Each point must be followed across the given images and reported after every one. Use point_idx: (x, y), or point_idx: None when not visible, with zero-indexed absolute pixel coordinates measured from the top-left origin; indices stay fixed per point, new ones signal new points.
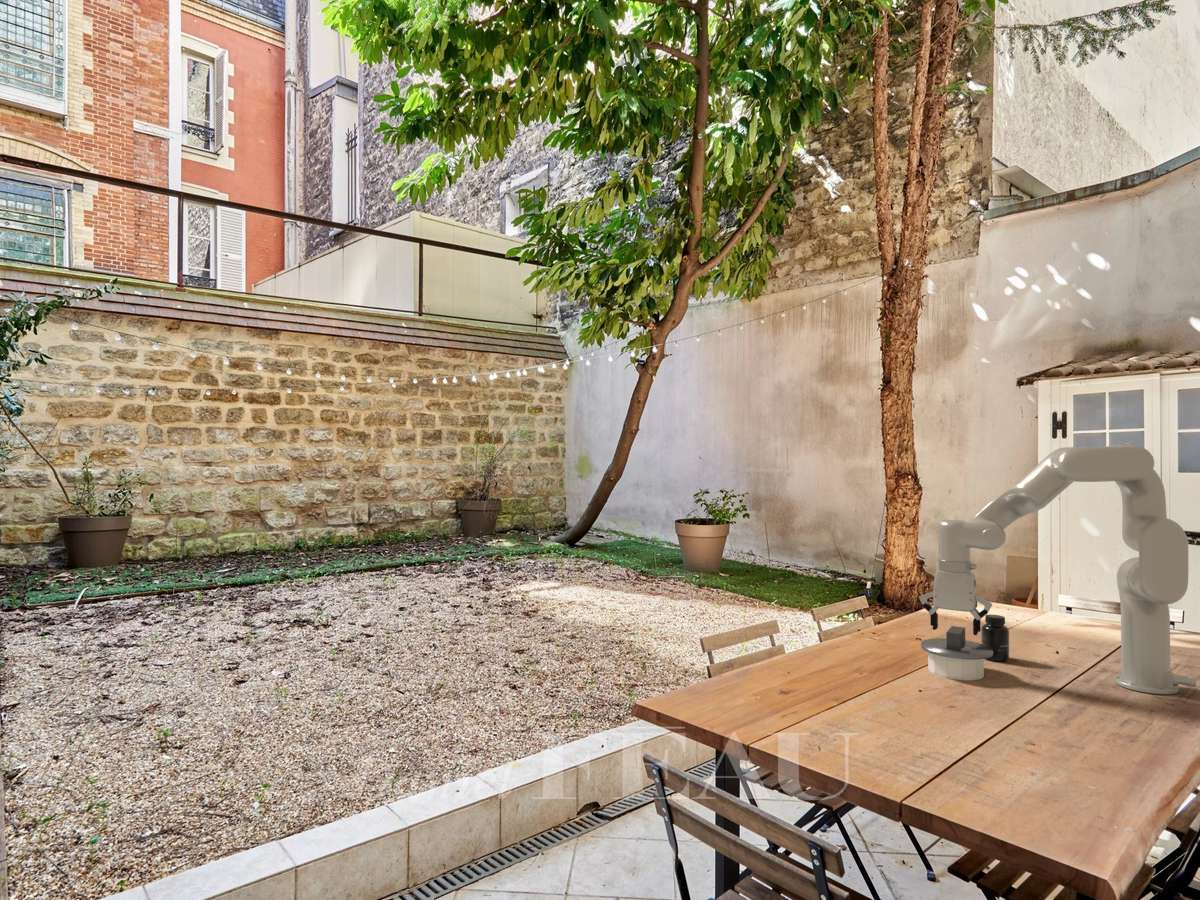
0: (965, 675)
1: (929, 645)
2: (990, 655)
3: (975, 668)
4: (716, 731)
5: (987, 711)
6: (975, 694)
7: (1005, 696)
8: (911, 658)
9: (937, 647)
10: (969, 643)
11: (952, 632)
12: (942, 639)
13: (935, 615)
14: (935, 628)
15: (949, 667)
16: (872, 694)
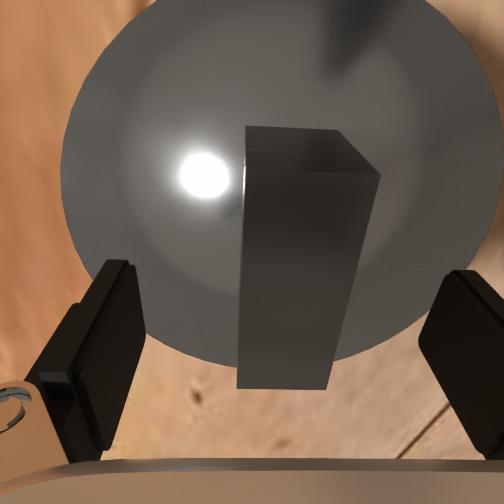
0: None
1: (137, 274)
2: None
3: None
4: None
5: (355, 437)
6: (336, 364)
7: (417, 344)
8: (10, 32)
9: (187, 293)
10: (369, 83)
11: (275, 376)
12: (160, 62)
13: (102, 448)
14: (142, 345)
15: None
16: (112, 453)
